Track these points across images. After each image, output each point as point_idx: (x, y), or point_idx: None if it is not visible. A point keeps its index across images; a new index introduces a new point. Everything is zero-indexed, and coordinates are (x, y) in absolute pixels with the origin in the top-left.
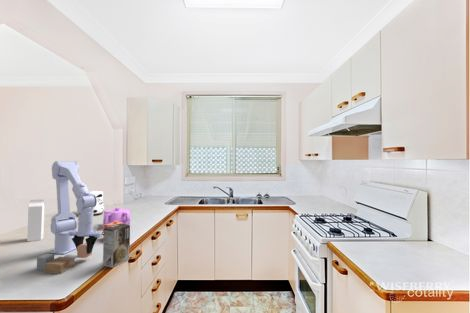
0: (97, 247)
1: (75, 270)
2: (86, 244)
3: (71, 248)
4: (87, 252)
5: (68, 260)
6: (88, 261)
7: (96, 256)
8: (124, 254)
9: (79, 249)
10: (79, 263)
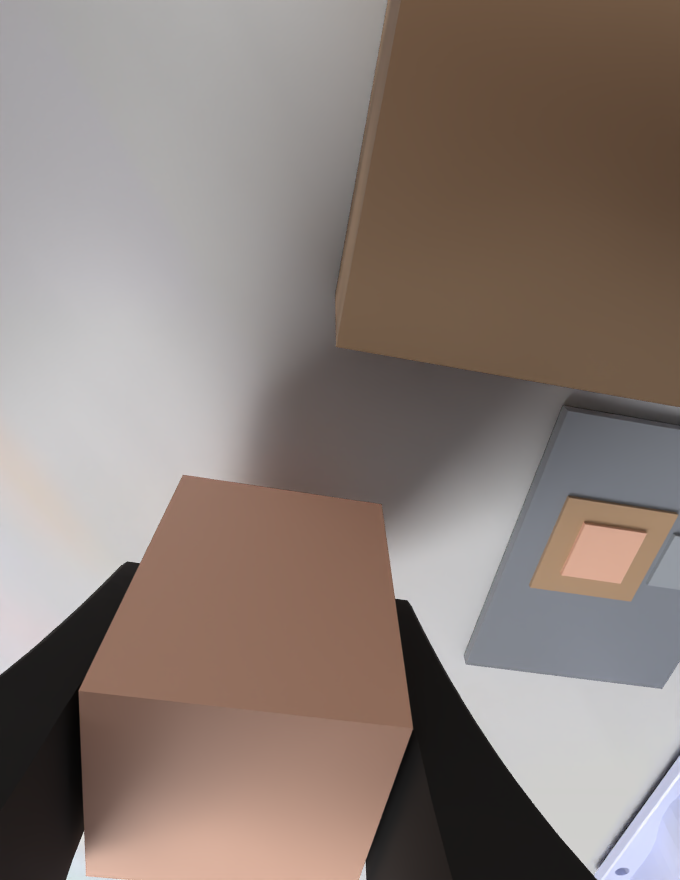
0: None
1: (168, 38)
2: (206, 829)
3: (666, 836)
4: None
5: (398, 120)
6: None
7: None
8: None
9: (334, 633)
10: (299, 404)
